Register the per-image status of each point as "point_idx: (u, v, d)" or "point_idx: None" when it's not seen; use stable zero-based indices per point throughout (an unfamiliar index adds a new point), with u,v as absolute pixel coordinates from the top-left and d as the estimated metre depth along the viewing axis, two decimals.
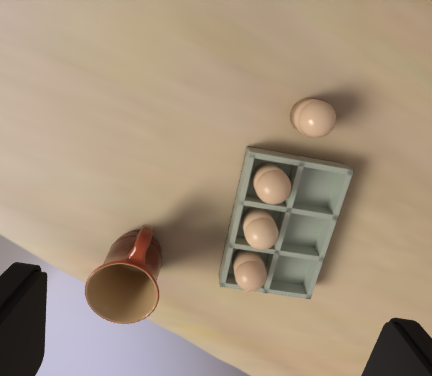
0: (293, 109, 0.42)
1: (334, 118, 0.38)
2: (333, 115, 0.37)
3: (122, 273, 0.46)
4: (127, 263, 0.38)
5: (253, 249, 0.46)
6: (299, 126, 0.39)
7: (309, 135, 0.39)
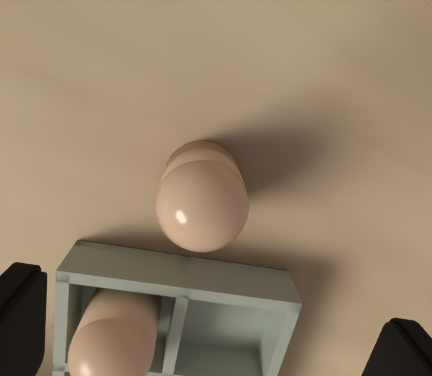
0: (165, 168, 0.18)
1: (239, 211, 0.14)
2: (235, 205, 0.14)
3: None
4: None
5: None
6: None
7: None
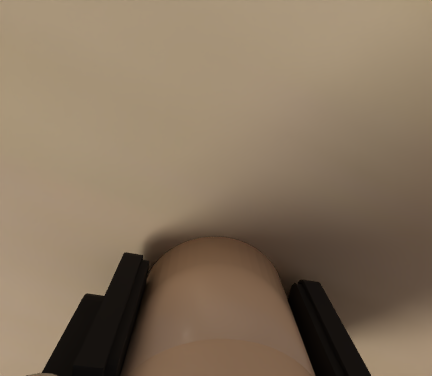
0: (143, 293, 0.09)
1: None
2: None
3: None
4: None
5: None
6: None
7: None
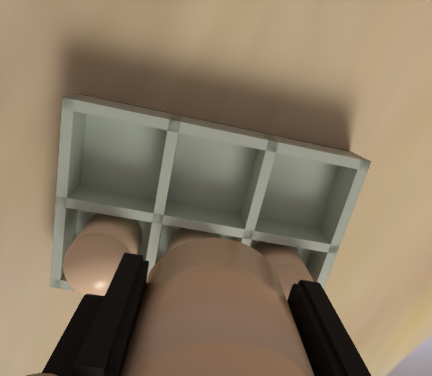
0: None
1: None
2: None
3: None
4: None
5: None
6: None
7: None
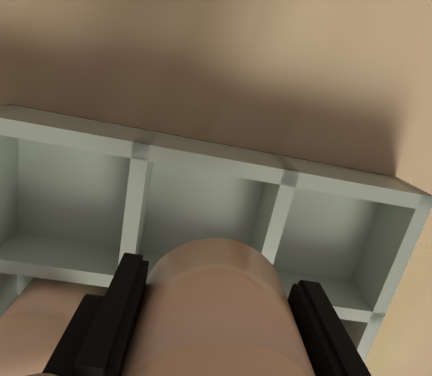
0: None
1: None
2: None
3: None
4: None
5: None
6: None
7: None
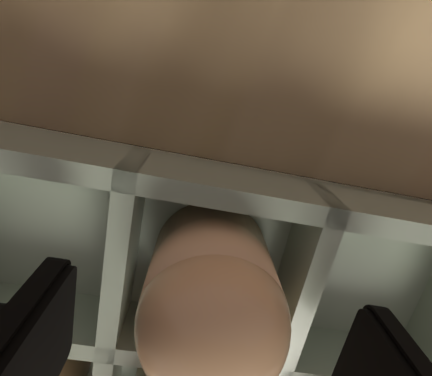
0: (156, 243, 0.12)
1: (278, 353, 0.08)
2: (272, 344, 0.08)
3: None
4: None
5: None
6: None
7: None
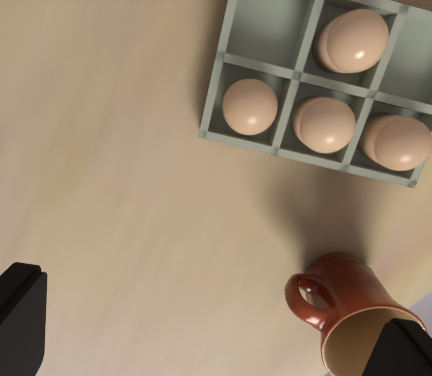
0: (318, 33, 0.27)
1: (387, 36, 0.23)
2: (386, 30, 0.23)
3: None
4: (326, 336, 0.27)
5: (358, 133, 0.28)
6: (328, 52, 0.25)
7: (344, 66, 0.24)
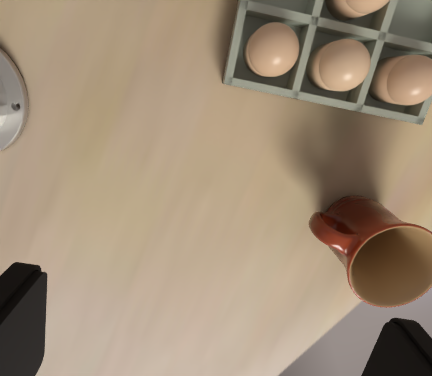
0: None
1: None
2: None
3: (374, 246, 0.37)
4: (351, 258, 0.29)
5: (370, 74, 0.31)
6: None
7: (360, 5, 0.27)
